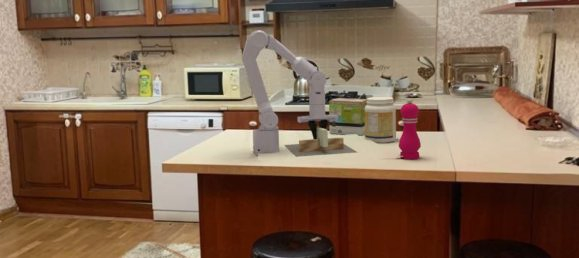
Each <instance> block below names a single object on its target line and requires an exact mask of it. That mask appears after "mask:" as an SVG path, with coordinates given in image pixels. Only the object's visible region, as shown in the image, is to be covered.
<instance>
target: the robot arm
mask: <svg viewBox="0 0 579 258" xmlns="http://www.w3.org/2000/svg"><path fill="white" fill-rule="evenodd" d="M264 49H266V50H271V51H274V52H275V53H276V54H277V55H279V56H280V57H282V58H283V59H285V61H287V62H288V63H290V65H291V70H292V71H294V72H295V73H296V74H298V76H300V77H301V78H302V79H303V80H306V81H307V83H308V84H309V85H308V86H309V88H308V89H309V91H308V101H309V105H308V107H309V115H302V116H297V123H307V125H308V128H309V130H310V132H311V135H312V138H313V139H317V135H316V128H317V127H321V128H324V129H326V130H327V127H328V126H329V121H330V120H337V115H329V114H326V91H325V85H326V83H327V78H326V76H325V74H324V73H323V72H322V71H320V70H318V67H317V66H314V65H312V63H311V62H309V61H308V58H307V57H306V56H305V57H303V56H297V55H295V54H294V53H292V52H291V51H290V50H289V49H288V48H287V47H286V46H284V44H282V43H281V42H280V41H279V40H277V39H276V38H274V37H273V36H272V35H270V34H267V32H266V31H264V30H258V29H257V30H254V31H252V32H251V33H250V34H249V36H248V37H247V38H246V41H245V45H244V48H243V52H242V54H241V60H242V64H243V65H244V70H245V72H246V75H247V78H248V80H249V81H248V82H249V83H250V87H251V90H252V94H253V96H254V99H255V102H256V107H257V109H258V121H259V123H260V125H259V127H258V129H254V130H253V131H252V143H253V144H252V152H253V154H254V155H255V156H257V157H258V156H260V155H259V154H264V153H276V152H279V151H280V136H279V135H280V134H279V133H280V131H279V130H280V129H279V126H278V124H279V117H278V115H277V114H276V113H275V112H274V109H273V108H272V105H271V103H270V100H269V99H270V98H269V97H268V93H267V90H266V86H265V84H264V81H263V78H262V74H261V72H260V68H259V65H258V61H257V59H258V56H259V54H260V53H261V51H262V50H264ZM316 122H318V125H317V123H316Z"/></svg>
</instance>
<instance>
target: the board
mask: <svg viewBox="0 0 579 258" xmlns="http://www.w3.org/2000/svg"><path fill="white" fill-rule="evenodd" d="M283 145H284V147H285V148H286V149H288V151H289V152H290V153H291V154H293V155H294V157H296V158H297V157H298V158H299V157H309V156H310V157H312V156H313V157H314V156H326V155H338V154H339V155H341V154H353V153H358V151H356V150H355V149H353V148H352V147H350V146H348V145H346V144H345V143H344V149H338V150H323V151H309V152H300V151H299V143H294V144H283Z"/></svg>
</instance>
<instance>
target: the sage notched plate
mask: <svg viewBox="0 0 579 258" xmlns="http://www.w3.org/2000/svg"><path fill="white" fill-rule="evenodd" d="M328 130H329V129H327V128H326V129H324V128H321V127H319V126H317V128H316V135H317V140H318V144H320V146H322V147H328V138H329V135H328V134H329V132H328Z"/></svg>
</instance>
